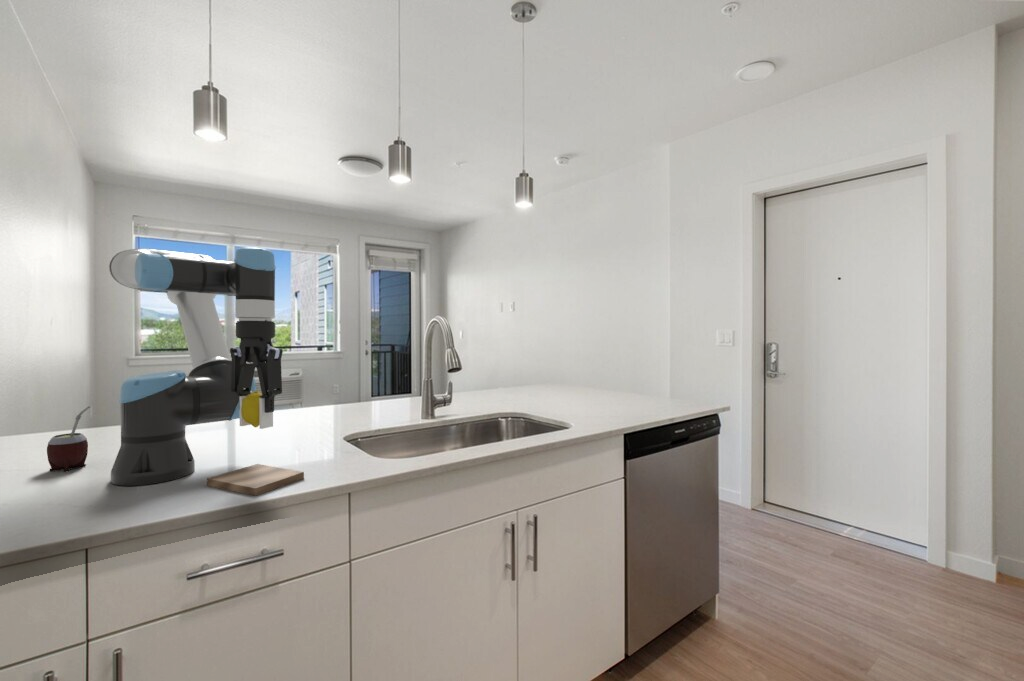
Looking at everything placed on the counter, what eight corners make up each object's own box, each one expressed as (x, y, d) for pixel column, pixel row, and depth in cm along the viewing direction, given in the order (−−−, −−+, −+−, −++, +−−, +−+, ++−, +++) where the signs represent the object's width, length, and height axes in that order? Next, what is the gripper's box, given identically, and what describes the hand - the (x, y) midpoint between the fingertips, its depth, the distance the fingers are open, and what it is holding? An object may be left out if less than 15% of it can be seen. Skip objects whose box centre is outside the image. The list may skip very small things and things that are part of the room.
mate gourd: (50, 467, 111) (49, 405, 111) (94, 462, 116) (93, 402, 116) (44, 475, 106) (43, 409, 105) (90, 469, 110) (89, 406, 110)
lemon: (257, 430, 98) (257, 392, 98) (235, 429, 99) (234, 392, 99) (275, 425, 104) (275, 389, 103) (254, 424, 105) (254, 389, 105)
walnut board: (206, 485, 99) (206, 478, 99) (257, 470, 110) (257, 463, 110) (255, 495, 93) (255, 488, 93) (303, 478, 104) (303, 471, 104)
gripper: (301, 320, 101) (301, 426, 101) (242, 320, 108) (243, 419, 109) (270, 319, 94) (271, 433, 94) (210, 320, 101) (211, 425, 102)
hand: (256, 426), depth 101 cm, fingers closed on lemon, 5 cm apart
